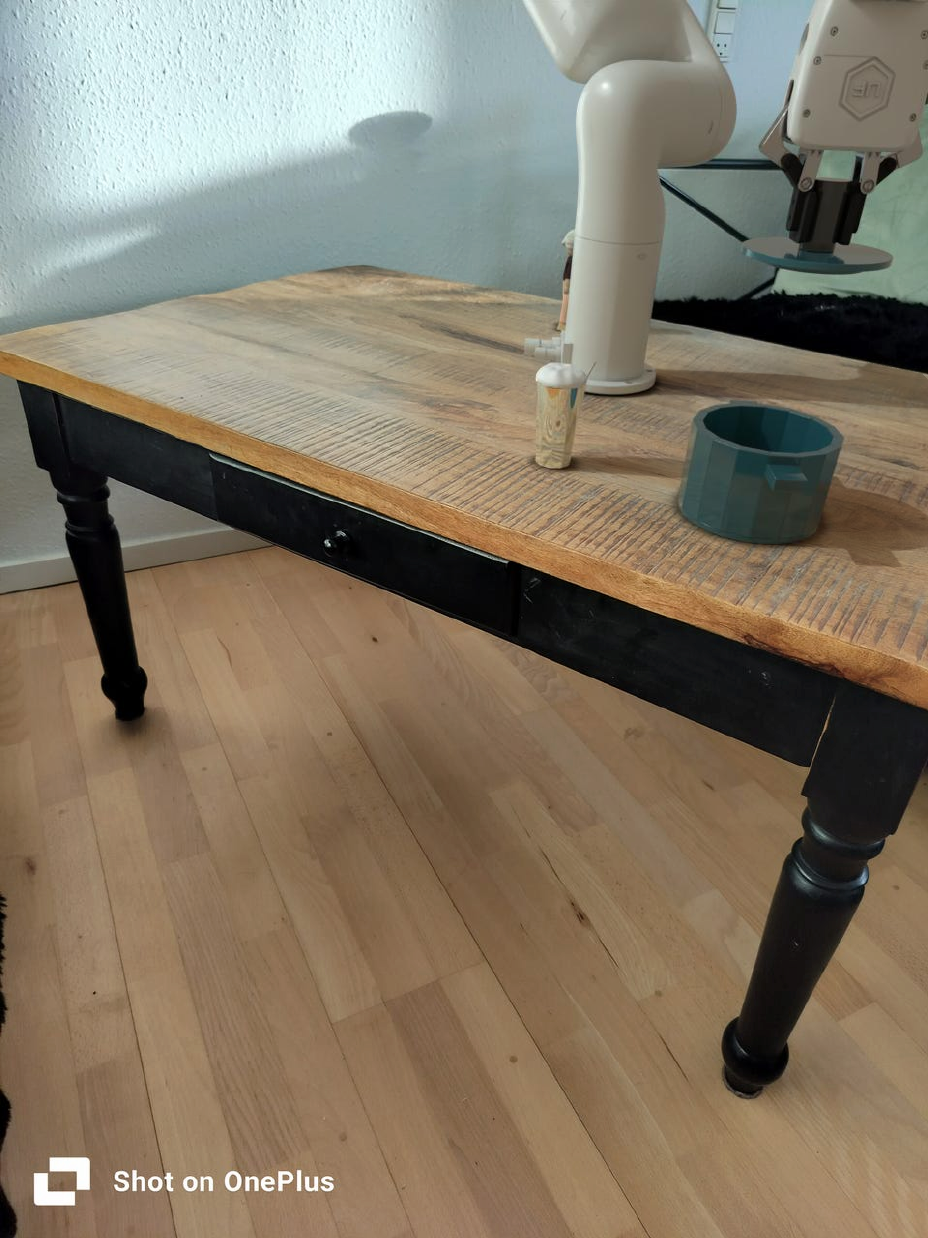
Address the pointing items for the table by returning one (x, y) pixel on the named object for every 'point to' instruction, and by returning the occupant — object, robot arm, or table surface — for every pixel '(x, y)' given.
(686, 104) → the robot arm
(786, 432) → the pot
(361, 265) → the table surface
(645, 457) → the table surface
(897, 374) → the table surface
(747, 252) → the lid
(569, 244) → the grandmother figurine
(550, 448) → the milkshake
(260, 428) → the table surface
